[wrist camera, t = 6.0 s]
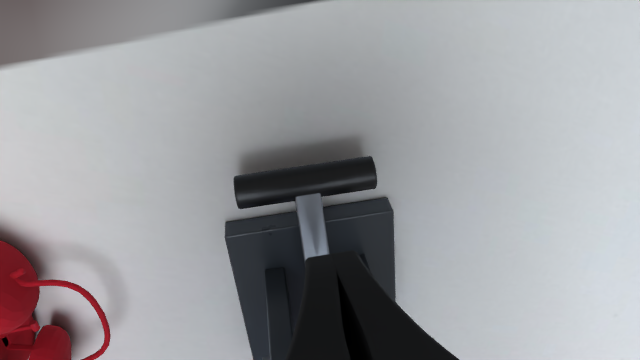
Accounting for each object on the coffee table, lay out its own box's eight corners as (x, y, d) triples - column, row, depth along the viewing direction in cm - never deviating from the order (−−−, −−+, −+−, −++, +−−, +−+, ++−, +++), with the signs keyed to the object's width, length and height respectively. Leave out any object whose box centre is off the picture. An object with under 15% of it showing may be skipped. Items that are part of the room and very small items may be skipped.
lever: (236, 175, 23) (230, 177, 21) (366, 156, 24) (376, 155, 21) (269, 392, 24) (268, 418, 21) (397, 370, 24) (409, 393, 22)
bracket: (225, 221, 25) (220, 336, 18) (387, 196, 25) (436, 300, 19) (254, 350, 29) (258, 477, 23) (391, 326, 30) (431, 444, 24)
